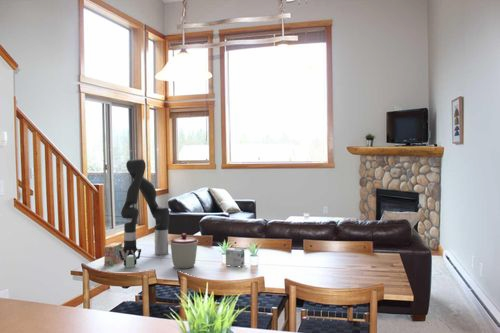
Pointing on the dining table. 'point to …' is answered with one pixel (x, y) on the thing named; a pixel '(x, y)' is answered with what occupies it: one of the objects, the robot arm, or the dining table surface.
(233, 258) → the light bulb box
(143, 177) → the robot arm
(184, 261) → the canister
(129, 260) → the sage block
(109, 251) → the stack of blocks
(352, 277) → the dining table surface
